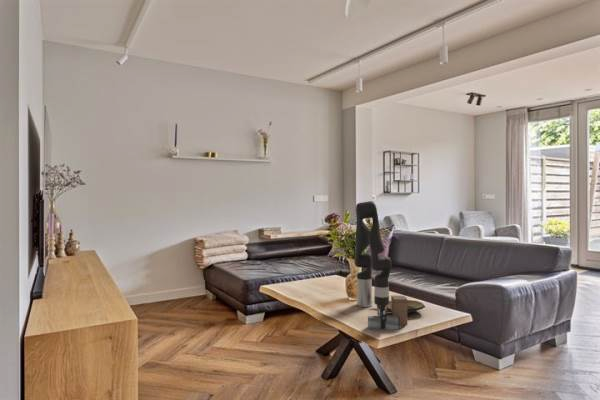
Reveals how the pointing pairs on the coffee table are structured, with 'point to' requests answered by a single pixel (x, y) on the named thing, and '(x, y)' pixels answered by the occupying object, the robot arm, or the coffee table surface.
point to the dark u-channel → (399, 308)
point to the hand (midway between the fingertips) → (381, 326)
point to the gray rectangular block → (391, 322)
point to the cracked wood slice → (410, 306)
